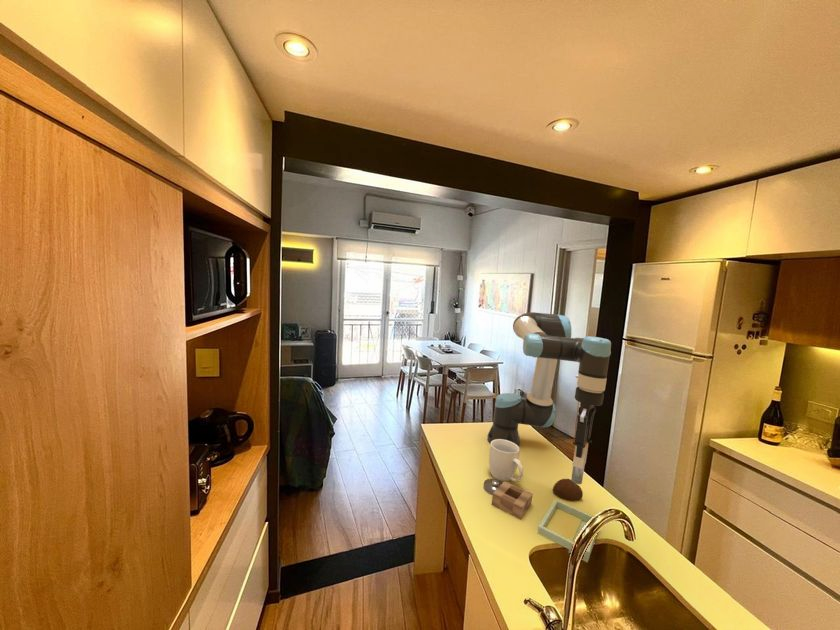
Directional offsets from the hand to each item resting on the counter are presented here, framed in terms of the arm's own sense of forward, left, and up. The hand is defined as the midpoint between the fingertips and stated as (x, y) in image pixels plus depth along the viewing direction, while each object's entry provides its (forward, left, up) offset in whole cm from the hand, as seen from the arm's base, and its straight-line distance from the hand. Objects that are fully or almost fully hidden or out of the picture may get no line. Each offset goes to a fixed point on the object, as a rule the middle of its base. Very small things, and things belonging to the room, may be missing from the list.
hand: (579, 464), depth 101 cm
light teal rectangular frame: (0, 0, -22) cm, 22 cm away
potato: (-18, -5, -23) cm, 29 cm away
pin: (0, 0, -6) cm, 6 cm away
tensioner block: (+2, -18, -22) cm, 29 cm away
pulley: (-2, -26, -22) cm, 34 cm away
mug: (-12, -27, -22) cm, 37 cm away
